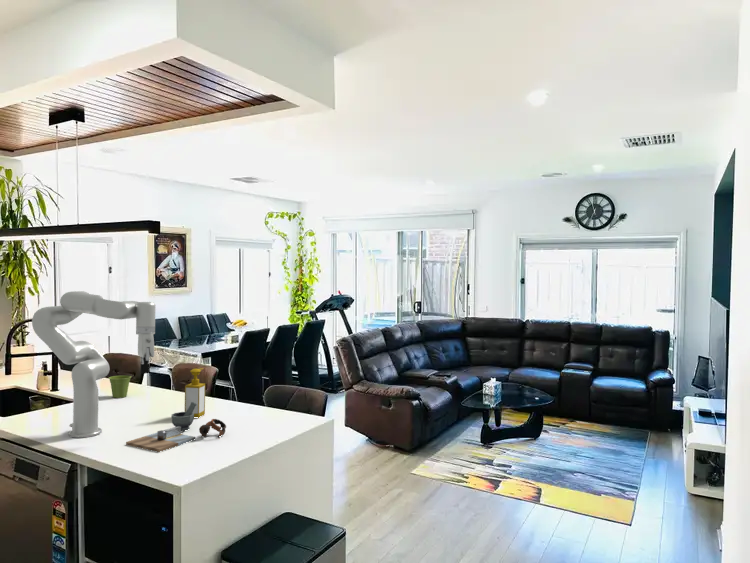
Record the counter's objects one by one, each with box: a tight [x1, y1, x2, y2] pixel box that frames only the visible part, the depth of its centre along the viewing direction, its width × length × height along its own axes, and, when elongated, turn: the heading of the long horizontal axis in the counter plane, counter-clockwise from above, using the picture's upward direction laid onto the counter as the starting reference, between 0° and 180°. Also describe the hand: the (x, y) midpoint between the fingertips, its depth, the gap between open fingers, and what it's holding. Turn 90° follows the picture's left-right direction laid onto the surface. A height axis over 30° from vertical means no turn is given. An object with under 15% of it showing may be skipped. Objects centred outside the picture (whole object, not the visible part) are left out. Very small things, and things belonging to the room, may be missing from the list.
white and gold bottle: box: [184, 368, 206, 419], centre depth 265 cm, size 7×13×24 cm, turn 174°
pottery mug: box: [198, 418, 227, 438], centre depth 228 cm, size 12×10×8 cm
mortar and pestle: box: [171, 402, 197, 432], centre depth 239 cm, size 11×9×12 cm
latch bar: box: [156, 426, 182, 440], centre depth 223 cm, size 11×3×3 cm, turn 149°
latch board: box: [125, 432, 196, 453], centre depth 219 cm, size 19×19×1 cm
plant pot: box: [108, 375, 132, 399], centre depth 302 cm, size 12×12×11 cm
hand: (144, 373), depth 228 cm, fingers closed
